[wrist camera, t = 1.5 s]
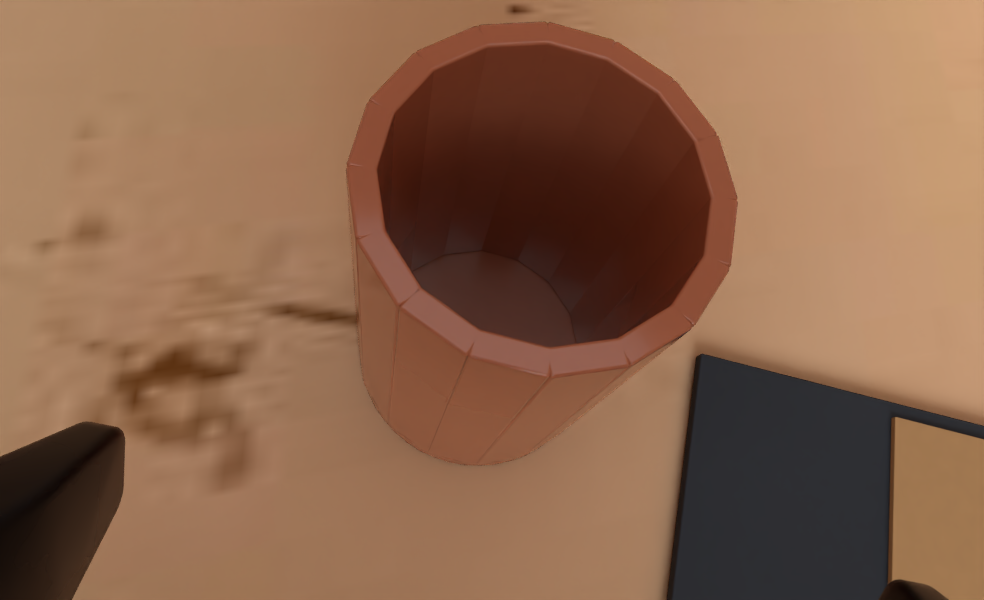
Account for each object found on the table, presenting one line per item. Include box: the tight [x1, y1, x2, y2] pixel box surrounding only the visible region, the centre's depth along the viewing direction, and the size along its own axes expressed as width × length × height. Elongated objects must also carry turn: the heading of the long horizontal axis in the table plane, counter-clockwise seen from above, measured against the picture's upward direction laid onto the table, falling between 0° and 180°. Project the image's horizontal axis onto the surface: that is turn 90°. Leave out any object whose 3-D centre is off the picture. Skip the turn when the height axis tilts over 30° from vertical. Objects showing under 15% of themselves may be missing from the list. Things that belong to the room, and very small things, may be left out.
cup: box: [346, 22, 738, 465], centre depth 17 cm, size 7×7×10 cm
